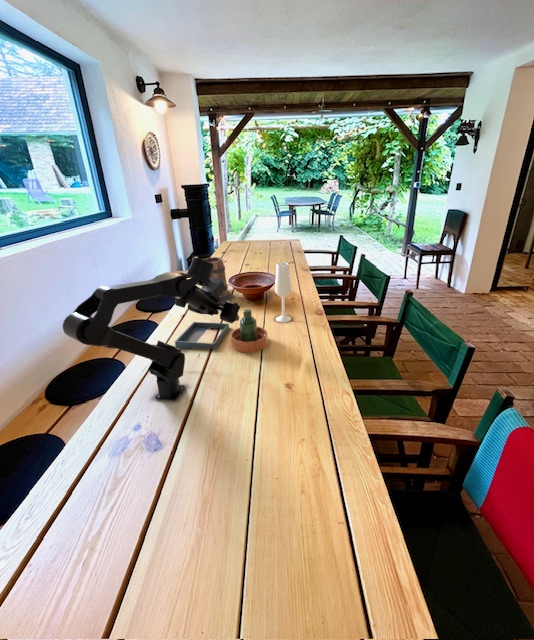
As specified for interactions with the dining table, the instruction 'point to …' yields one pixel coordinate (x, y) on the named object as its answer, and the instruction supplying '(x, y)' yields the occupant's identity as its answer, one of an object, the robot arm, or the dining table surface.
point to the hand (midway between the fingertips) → (228, 316)
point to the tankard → (219, 276)
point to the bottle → (248, 327)
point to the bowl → (249, 346)
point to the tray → (199, 335)
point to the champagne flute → (283, 287)
